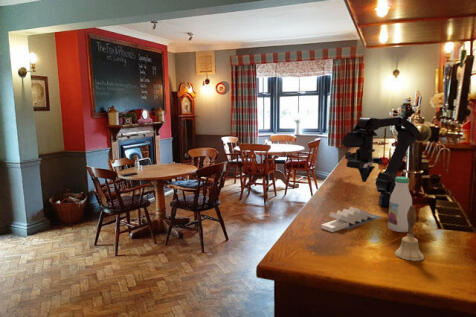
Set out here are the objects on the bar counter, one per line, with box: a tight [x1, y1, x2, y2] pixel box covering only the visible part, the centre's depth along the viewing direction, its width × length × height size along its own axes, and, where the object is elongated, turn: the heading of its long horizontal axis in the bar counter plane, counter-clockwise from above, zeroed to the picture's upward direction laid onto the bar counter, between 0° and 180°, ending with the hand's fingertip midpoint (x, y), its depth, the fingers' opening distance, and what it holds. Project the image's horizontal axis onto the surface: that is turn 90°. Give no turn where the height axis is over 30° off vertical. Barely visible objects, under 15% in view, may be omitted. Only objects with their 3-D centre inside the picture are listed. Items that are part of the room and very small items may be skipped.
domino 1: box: [328, 211, 355, 224], centre depth 136 cm, size 2×5×10 cm
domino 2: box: [320, 219, 349, 233], centre depth 134 cm, size 2×5×10 cm
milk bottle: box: [387, 176, 413, 233], centre depth 131 cm, size 8×8×20 cm
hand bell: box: [394, 204, 425, 262], centre depth 108 cm, size 8×8×16 cm
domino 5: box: [348, 206, 374, 218], centre depth 143 cm, size 2×5×10 cm
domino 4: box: [342, 208, 367, 220], centre depth 141 cm, size 2×5×10 cm
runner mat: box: [344, 213, 383, 230], centre depth 142 cm, size 24×8×1 cm, turn 127°
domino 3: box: [336, 210, 362, 222], centre depth 138 cm, size 2×5×10 cm
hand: (364, 181), depth 155 cm, fingers closed
